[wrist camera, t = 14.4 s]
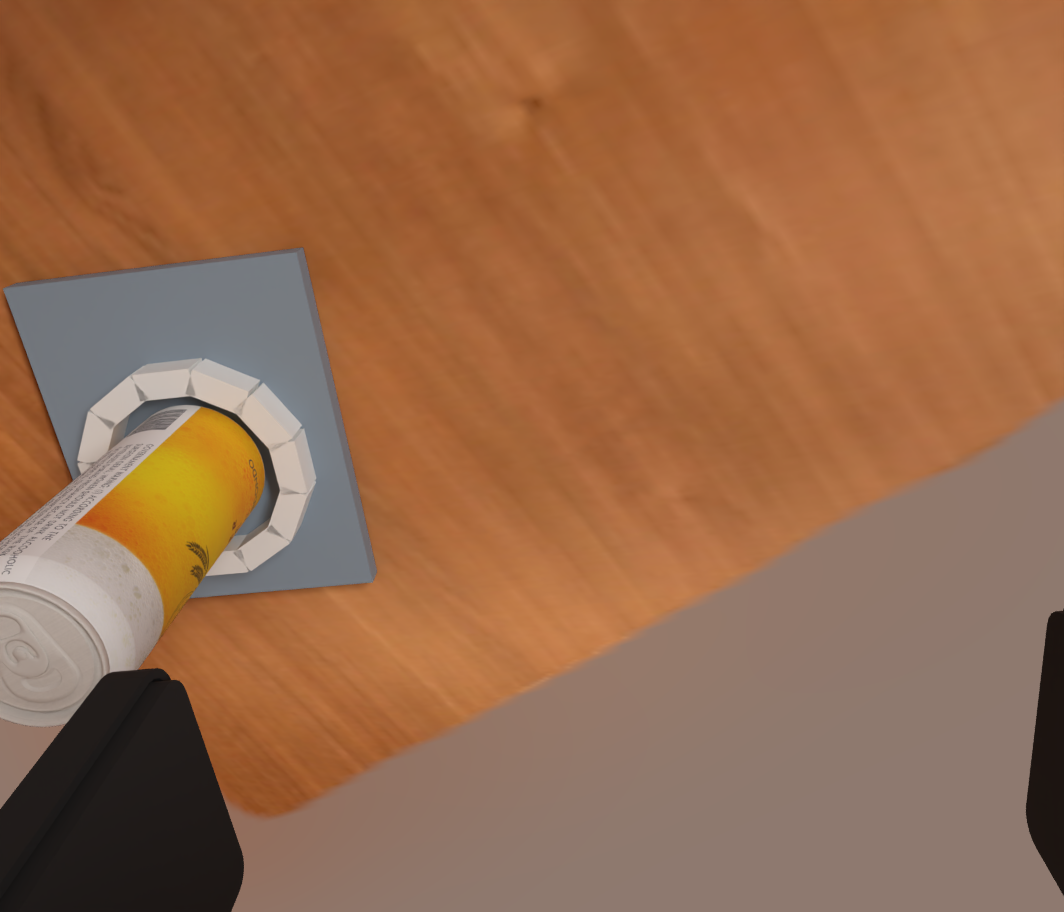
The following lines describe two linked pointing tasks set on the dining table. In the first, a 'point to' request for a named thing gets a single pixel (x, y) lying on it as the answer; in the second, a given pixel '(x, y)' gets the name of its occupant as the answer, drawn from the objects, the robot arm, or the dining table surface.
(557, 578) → the dining table surface
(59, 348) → the base board
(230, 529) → the beer can
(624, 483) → the dining table surface
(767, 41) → the dining table surface
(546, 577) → the dining table surface
